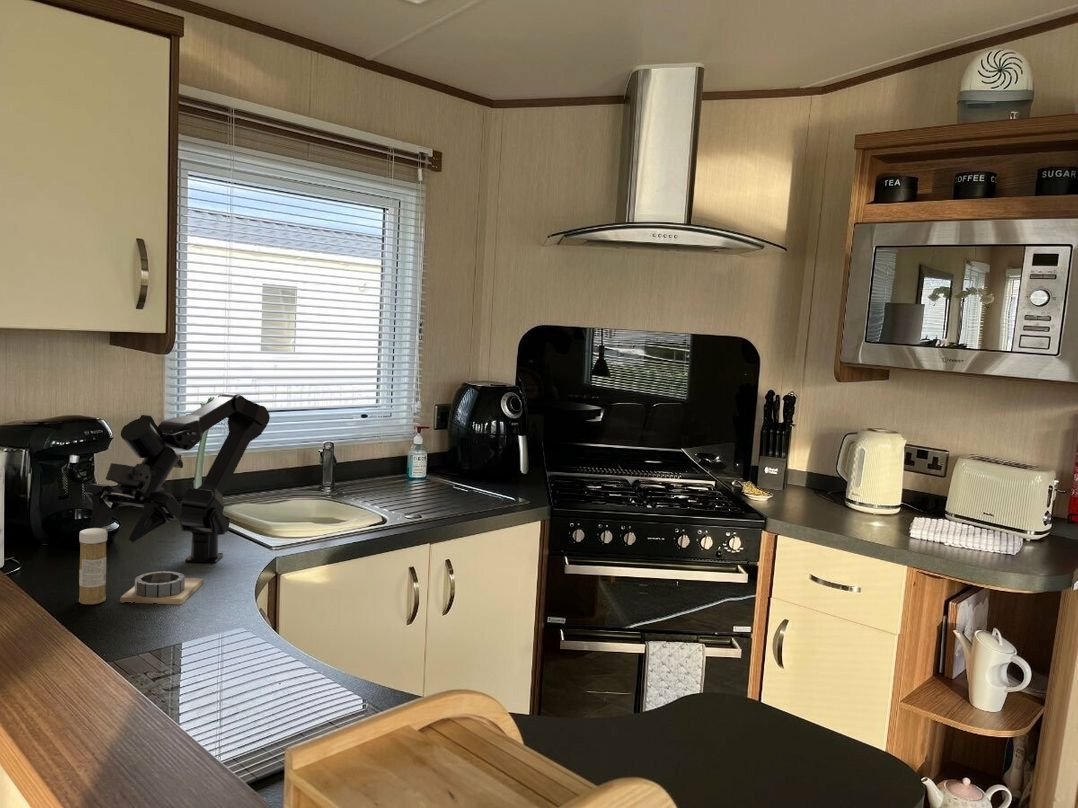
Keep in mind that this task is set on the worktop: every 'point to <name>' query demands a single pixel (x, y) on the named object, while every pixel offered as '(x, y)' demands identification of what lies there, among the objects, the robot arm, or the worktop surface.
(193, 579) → the carrier plate
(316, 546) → the worktop surface
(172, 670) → the worktop surface
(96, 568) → the sprinkles bottle
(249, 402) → the robot arm
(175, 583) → the socket ring
